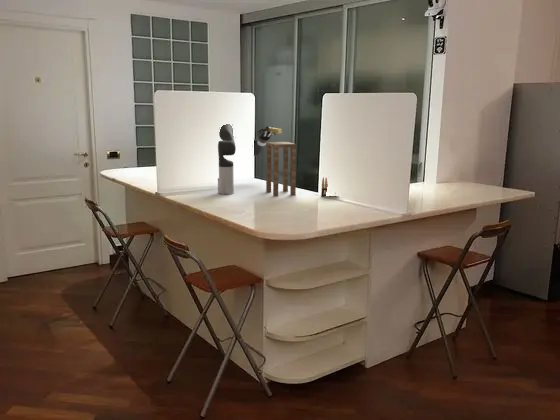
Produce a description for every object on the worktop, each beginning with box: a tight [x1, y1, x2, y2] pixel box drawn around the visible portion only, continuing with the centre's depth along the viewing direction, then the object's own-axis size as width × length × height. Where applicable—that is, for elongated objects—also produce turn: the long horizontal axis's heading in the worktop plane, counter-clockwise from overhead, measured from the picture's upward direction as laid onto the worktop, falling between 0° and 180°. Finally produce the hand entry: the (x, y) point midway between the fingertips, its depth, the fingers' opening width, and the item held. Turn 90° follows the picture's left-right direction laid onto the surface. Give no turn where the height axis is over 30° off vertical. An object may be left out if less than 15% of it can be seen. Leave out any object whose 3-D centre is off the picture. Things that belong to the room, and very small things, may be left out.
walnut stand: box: [265, 141, 297, 197], centre depth 328 cm, size 16×14×32 cm
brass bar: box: [268, 126, 283, 134], centre depth 336 cm, size 24×2×2 cm, turn 20°
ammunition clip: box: [320, 177, 328, 198], centre depth 322 cm, size 11×2×12 cm, turn 80°
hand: (270, 127), depth 342 cm, fingers closed on brass bar, 2 cm apart
